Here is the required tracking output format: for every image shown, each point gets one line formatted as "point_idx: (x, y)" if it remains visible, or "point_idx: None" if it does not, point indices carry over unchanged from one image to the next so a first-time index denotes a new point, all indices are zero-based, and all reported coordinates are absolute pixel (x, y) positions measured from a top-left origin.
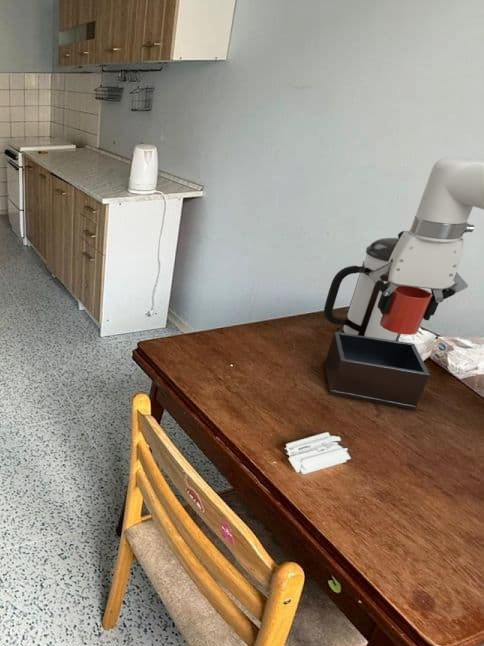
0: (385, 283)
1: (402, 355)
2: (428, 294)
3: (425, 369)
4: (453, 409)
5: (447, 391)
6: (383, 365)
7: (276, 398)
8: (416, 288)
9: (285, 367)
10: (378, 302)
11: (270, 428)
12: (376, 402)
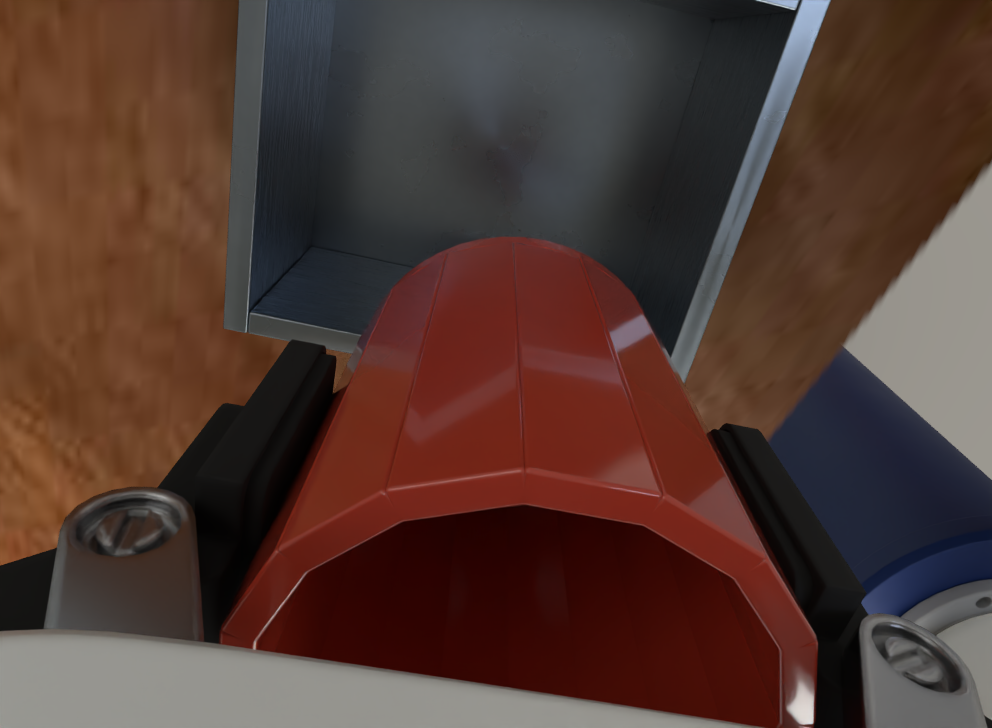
0: (46, 621)
1: (737, 10)
2: (760, 721)
3: (680, 367)
4: (807, 287)
5: (894, 129)
6: None
7: (60, 326)
8: (701, 557)
9: (91, 3)
10: (213, 416)
11: (51, 509)
12: None
